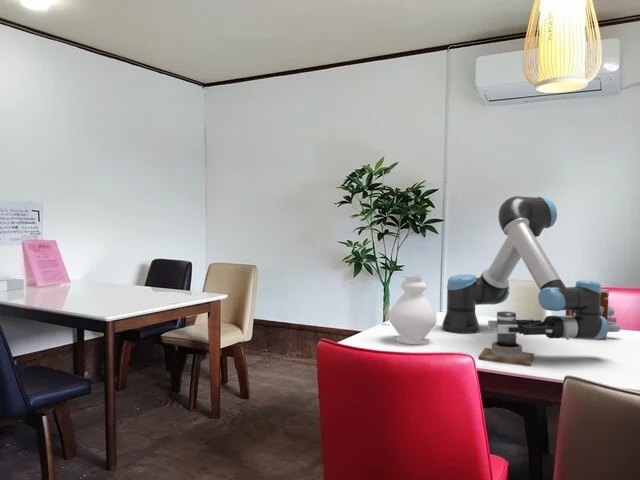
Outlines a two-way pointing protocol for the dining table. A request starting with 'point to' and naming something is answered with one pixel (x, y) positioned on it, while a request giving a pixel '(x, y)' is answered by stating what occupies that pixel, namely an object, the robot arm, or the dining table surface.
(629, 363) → the dining table surface
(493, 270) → the robot arm
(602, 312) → the cine camera
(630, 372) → the dining table surface
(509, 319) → the tube
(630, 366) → the dining table surface
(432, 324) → the decorative vase
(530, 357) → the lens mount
